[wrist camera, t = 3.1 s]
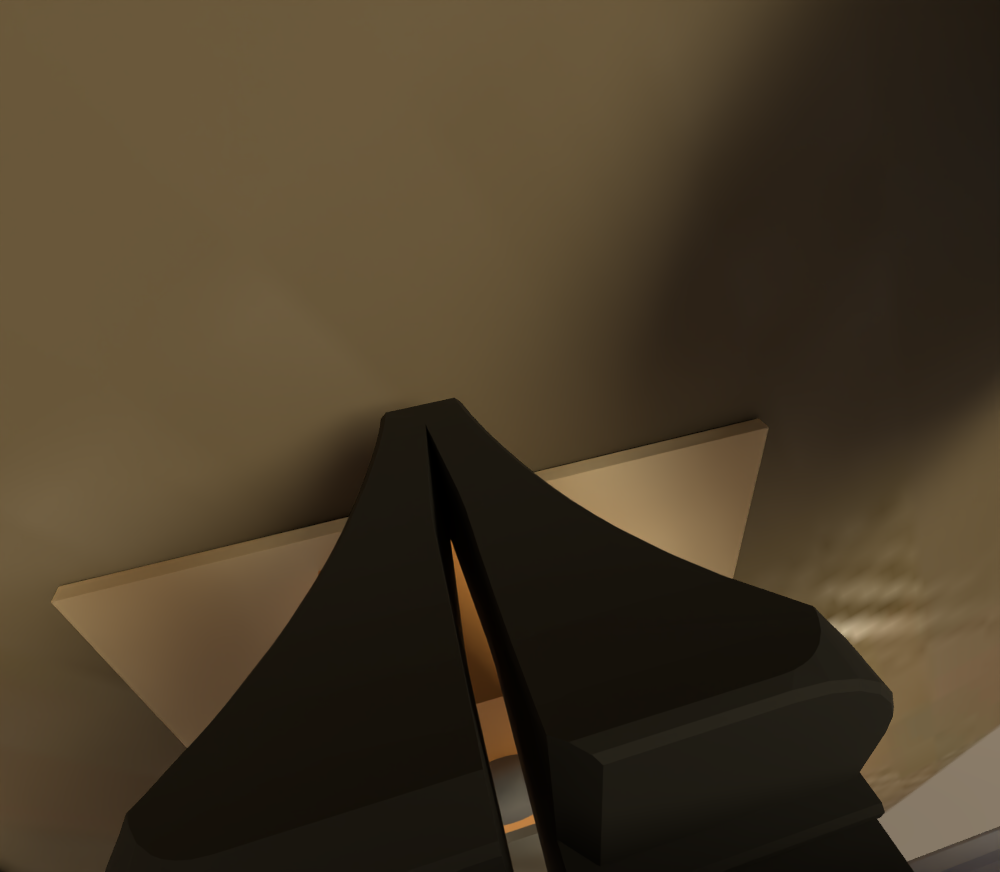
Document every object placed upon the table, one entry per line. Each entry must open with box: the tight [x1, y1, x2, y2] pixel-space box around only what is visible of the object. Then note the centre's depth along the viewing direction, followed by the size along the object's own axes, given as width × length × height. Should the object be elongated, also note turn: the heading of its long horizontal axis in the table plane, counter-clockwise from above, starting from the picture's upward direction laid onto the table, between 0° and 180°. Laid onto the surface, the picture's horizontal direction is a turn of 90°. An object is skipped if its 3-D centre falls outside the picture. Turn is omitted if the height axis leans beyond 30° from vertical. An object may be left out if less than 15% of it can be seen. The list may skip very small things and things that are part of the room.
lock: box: [318, 541, 535, 833], centre depth 13 cm, size 6×6×5 cm
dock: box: [51, 418, 769, 872], centre depth 16 cm, size 16×19×5 cm
